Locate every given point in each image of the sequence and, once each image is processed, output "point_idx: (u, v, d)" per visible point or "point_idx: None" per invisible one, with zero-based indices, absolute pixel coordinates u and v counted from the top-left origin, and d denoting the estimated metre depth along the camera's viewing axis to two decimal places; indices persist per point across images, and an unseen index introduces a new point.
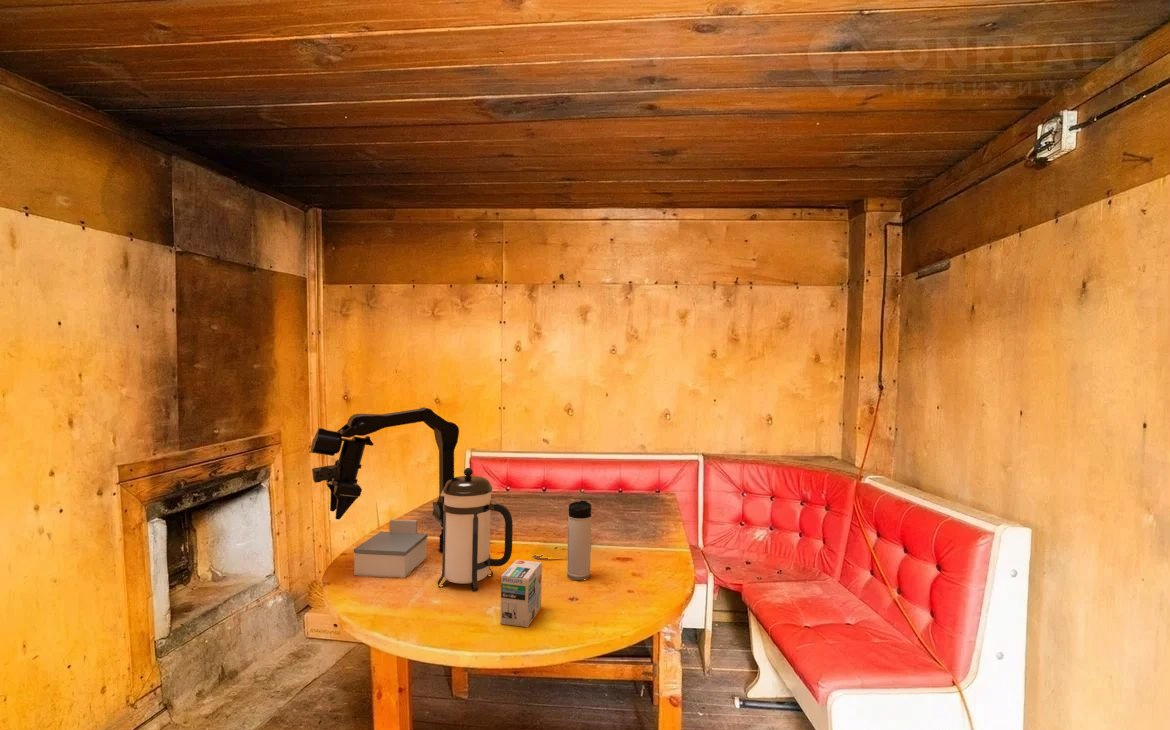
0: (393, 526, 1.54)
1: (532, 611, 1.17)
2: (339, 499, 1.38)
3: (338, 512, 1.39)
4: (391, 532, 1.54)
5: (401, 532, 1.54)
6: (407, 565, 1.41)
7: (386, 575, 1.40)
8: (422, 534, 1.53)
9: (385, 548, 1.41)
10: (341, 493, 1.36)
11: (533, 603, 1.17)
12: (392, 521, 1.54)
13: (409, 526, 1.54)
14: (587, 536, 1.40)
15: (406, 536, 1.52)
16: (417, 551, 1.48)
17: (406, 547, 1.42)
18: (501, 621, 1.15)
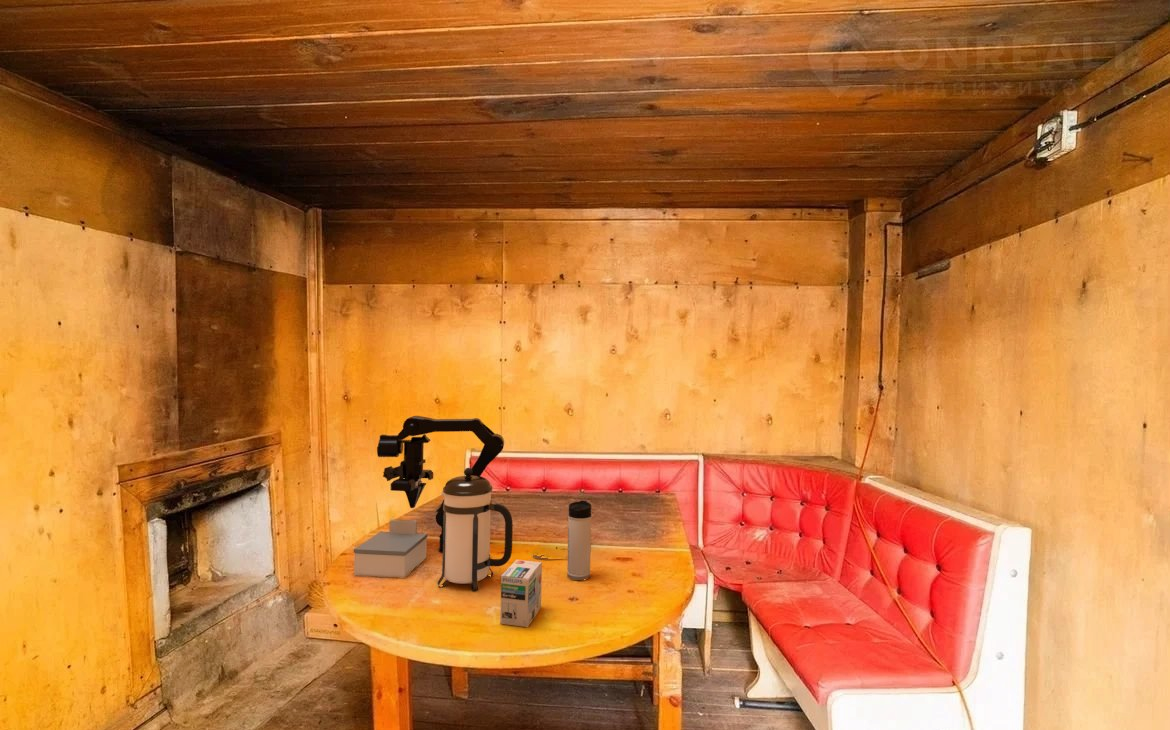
0: (393, 526, 1.54)
1: (532, 611, 1.17)
2: (406, 491, 1.59)
3: (410, 502, 1.60)
4: (391, 532, 1.54)
5: (401, 532, 1.54)
6: (407, 565, 1.41)
7: (386, 575, 1.40)
8: (422, 534, 1.53)
9: (385, 548, 1.41)
10: (394, 489, 1.52)
11: (533, 603, 1.17)
12: (392, 521, 1.54)
13: (409, 526, 1.54)
14: (587, 536, 1.40)
15: (406, 536, 1.52)
16: (417, 551, 1.48)
17: (406, 547, 1.42)
18: (501, 621, 1.15)
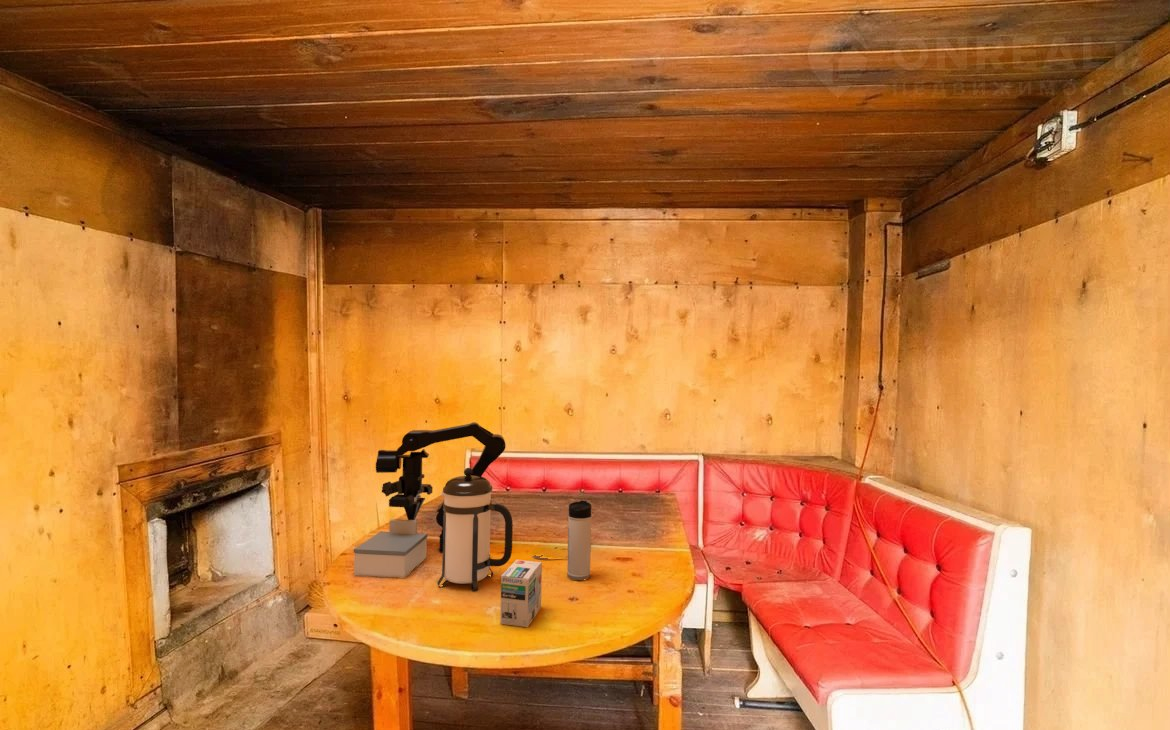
0: (393, 526, 1.54)
1: (532, 611, 1.17)
2: (404, 506, 1.58)
3: (408, 517, 1.59)
4: (391, 532, 1.54)
5: (401, 532, 1.54)
6: (407, 565, 1.41)
7: (386, 575, 1.40)
8: (422, 534, 1.53)
9: (385, 548, 1.41)
10: (392, 505, 1.51)
11: (533, 603, 1.17)
12: (392, 521, 1.54)
13: (409, 526, 1.54)
14: (587, 536, 1.40)
15: (406, 536, 1.52)
16: (417, 551, 1.48)
17: (406, 547, 1.42)
18: (501, 621, 1.15)
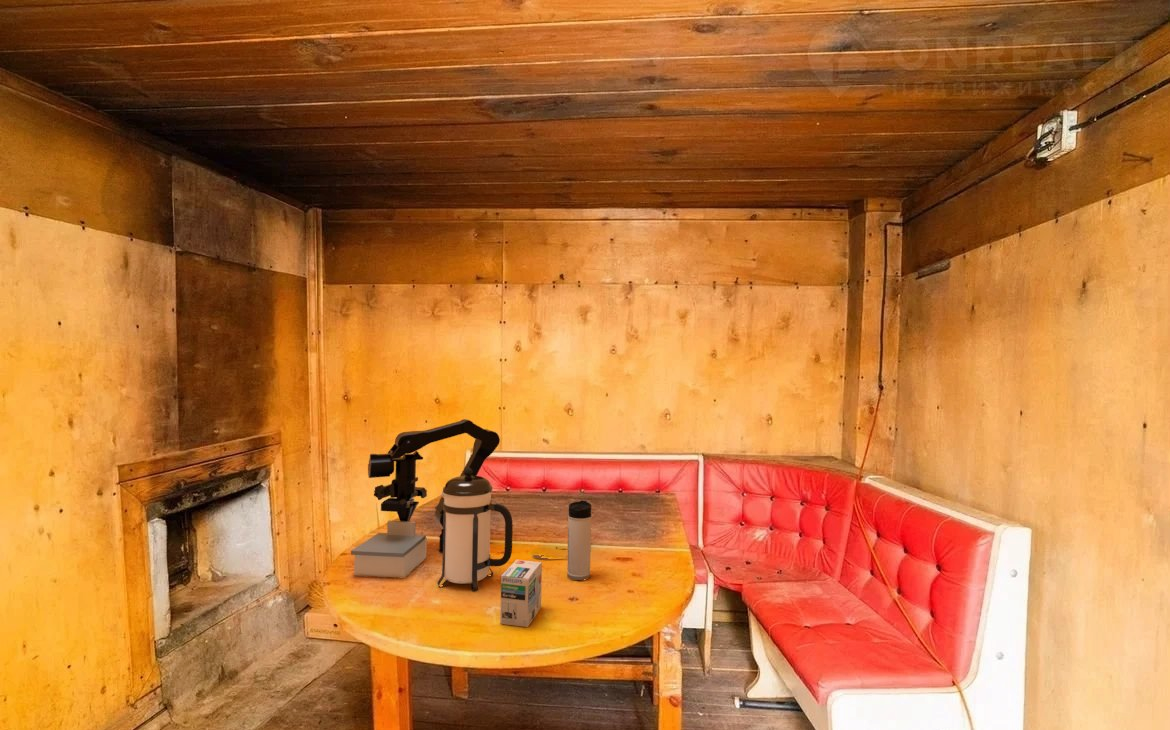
0: (391, 528, 1.53)
1: (532, 611, 1.17)
2: None
3: None
4: (389, 533, 1.53)
5: (399, 533, 1.52)
6: (407, 565, 1.41)
7: (386, 575, 1.40)
8: (420, 535, 1.52)
9: (383, 550, 1.40)
10: (384, 510, 1.46)
11: (533, 603, 1.17)
12: (390, 522, 1.53)
13: (407, 527, 1.52)
14: (587, 536, 1.40)
15: (404, 537, 1.50)
16: (417, 551, 1.48)
17: (404, 549, 1.41)
18: (501, 621, 1.15)
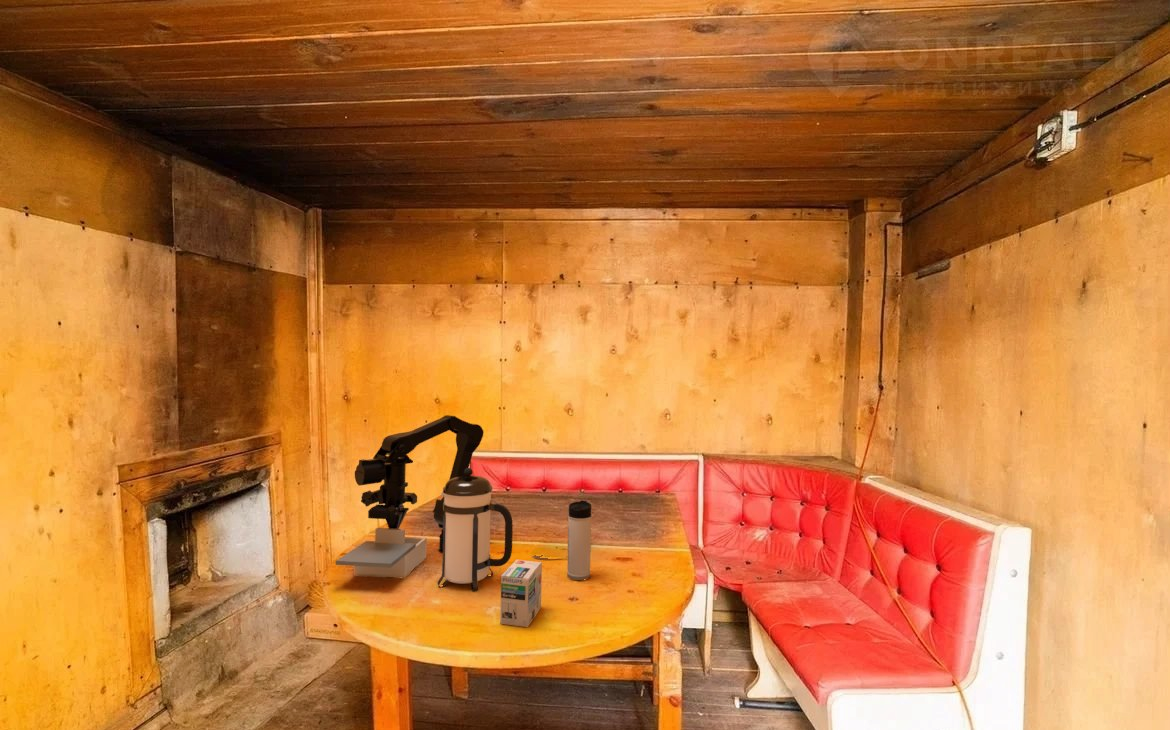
0: (379, 536, 1.45)
1: (532, 611, 1.17)
2: None
3: None
4: (377, 542, 1.45)
5: (388, 542, 1.45)
6: (407, 565, 1.41)
7: (386, 575, 1.40)
8: (410, 544, 1.45)
9: (370, 560, 1.32)
10: (371, 517, 1.39)
11: (533, 603, 1.17)
12: (378, 530, 1.45)
13: (396, 535, 1.45)
14: (587, 536, 1.40)
15: (393, 546, 1.43)
16: (417, 551, 1.48)
17: (391, 558, 1.34)
18: (501, 621, 1.15)
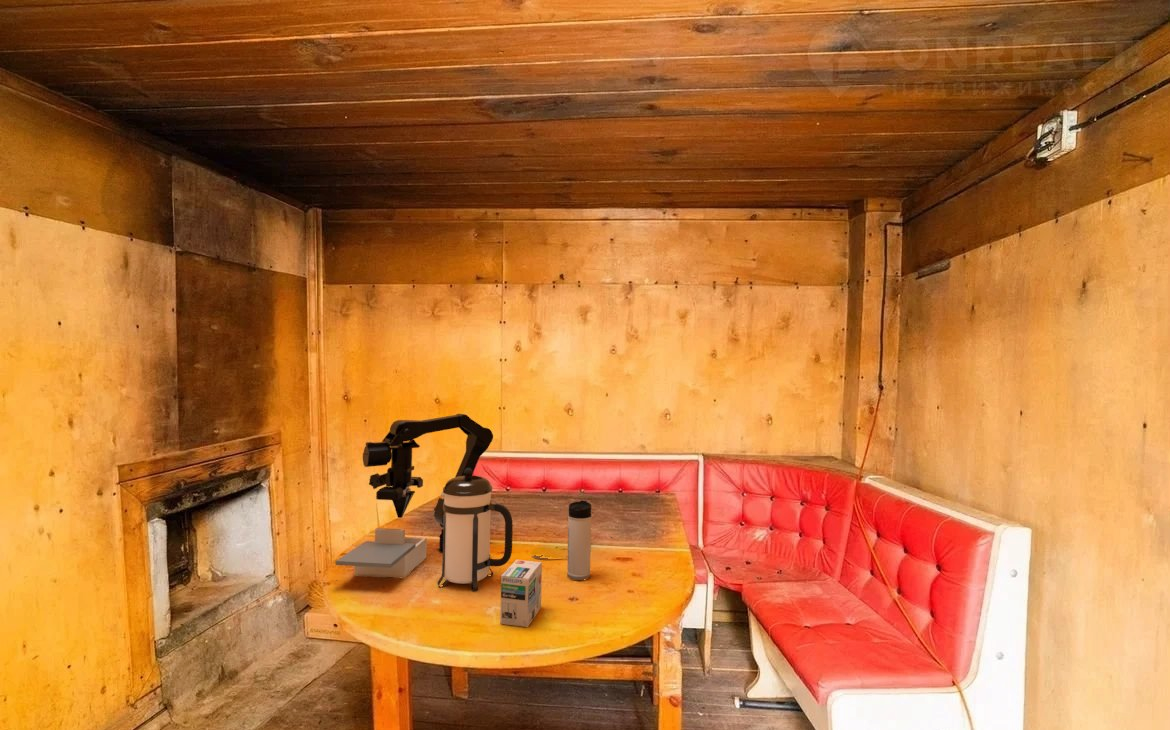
0: (379, 536, 1.45)
1: (532, 611, 1.17)
2: (393, 499, 1.50)
3: (397, 511, 1.51)
4: (377, 542, 1.45)
5: (387, 542, 1.45)
6: (407, 565, 1.41)
7: (386, 575, 1.40)
8: (410, 544, 1.45)
9: (369, 560, 1.32)
10: (379, 498, 1.43)
11: (533, 603, 1.17)
12: (378, 530, 1.45)
13: (395, 535, 1.45)
14: (587, 536, 1.40)
15: (393, 546, 1.43)
16: (417, 551, 1.48)
17: (391, 558, 1.34)
18: (501, 621, 1.15)
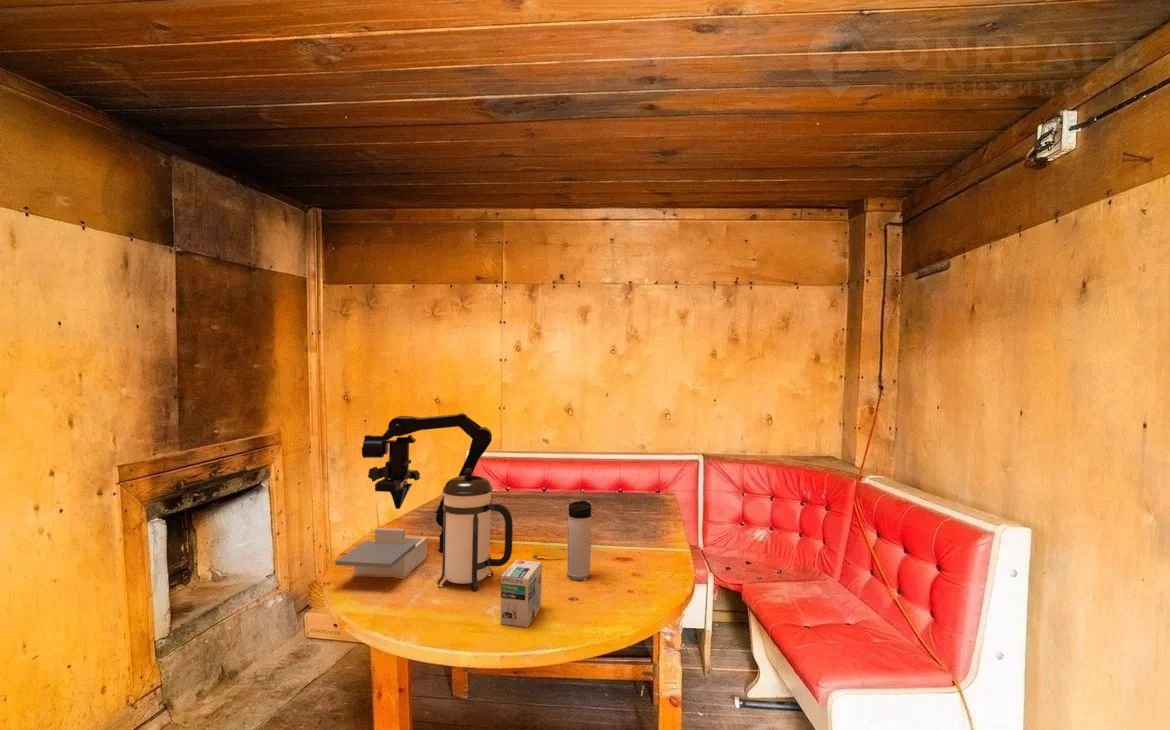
0: (379, 536, 1.45)
1: (532, 611, 1.17)
2: (391, 491, 1.58)
3: (395, 503, 1.59)
4: (377, 542, 1.45)
5: (387, 542, 1.45)
6: (407, 565, 1.41)
7: (386, 575, 1.40)
8: (410, 544, 1.45)
9: (369, 560, 1.32)
10: (378, 490, 1.51)
11: (533, 603, 1.17)
12: (378, 530, 1.45)
13: (395, 535, 1.45)
14: (587, 536, 1.40)
15: (393, 546, 1.43)
16: (417, 551, 1.48)
17: (391, 558, 1.34)
18: (501, 621, 1.15)
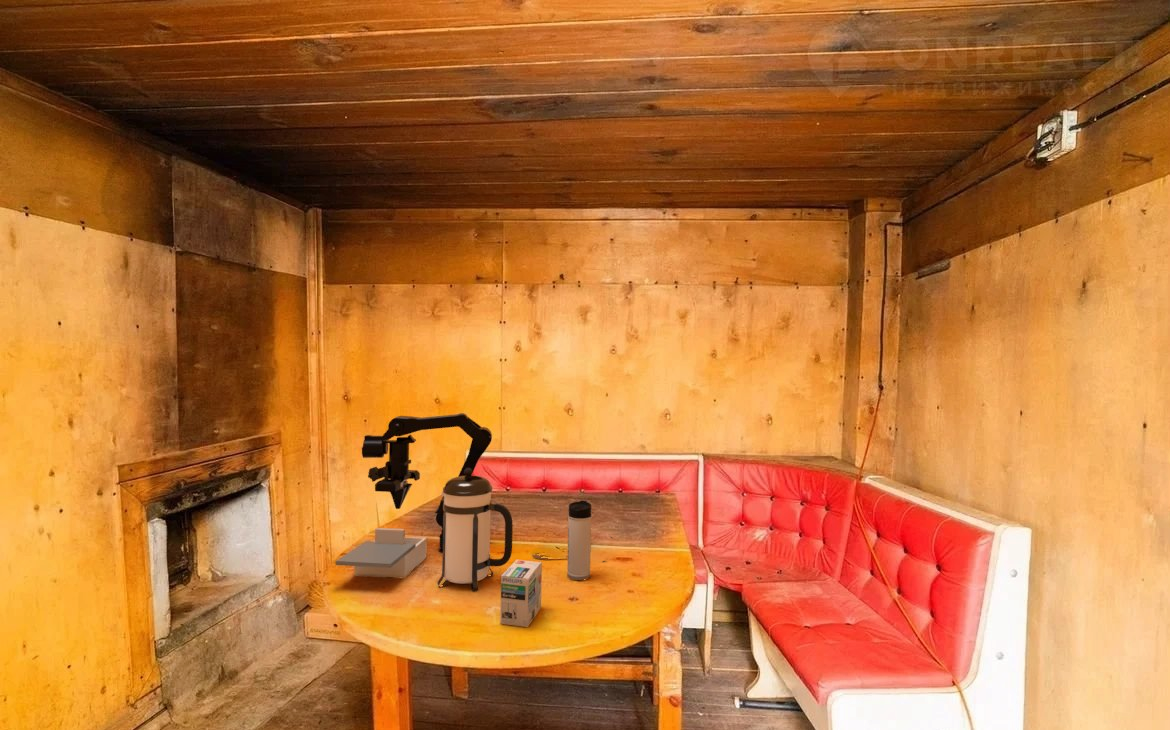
0: (379, 536, 1.45)
1: (532, 611, 1.17)
2: (391, 491, 1.58)
3: (395, 503, 1.59)
4: (377, 542, 1.45)
5: (387, 542, 1.45)
6: (407, 565, 1.41)
7: (386, 575, 1.40)
8: (410, 544, 1.45)
9: (369, 560, 1.32)
10: (378, 490, 1.51)
11: (533, 603, 1.17)
12: (378, 530, 1.45)
13: (395, 535, 1.45)
14: (587, 536, 1.40)
15: (393, 546, 1.43)
16: (417, 551, 1.48)
17: (391, 558, 1.34)
18: (501, 621, 1.15)
